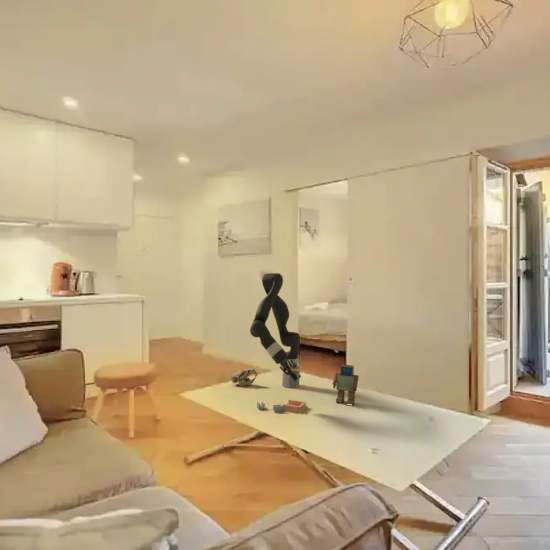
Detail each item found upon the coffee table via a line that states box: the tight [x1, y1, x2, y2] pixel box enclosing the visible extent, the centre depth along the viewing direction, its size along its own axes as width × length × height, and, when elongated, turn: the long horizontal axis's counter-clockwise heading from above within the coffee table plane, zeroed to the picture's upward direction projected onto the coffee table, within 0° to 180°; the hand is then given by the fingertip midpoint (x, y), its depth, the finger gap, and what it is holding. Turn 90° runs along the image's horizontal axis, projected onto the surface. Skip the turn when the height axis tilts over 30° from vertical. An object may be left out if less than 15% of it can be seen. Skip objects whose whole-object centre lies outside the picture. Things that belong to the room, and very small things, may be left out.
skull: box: [230, 368, 258, 387], centre depth 260 cm, size 10×16×10 cm, turn 88°
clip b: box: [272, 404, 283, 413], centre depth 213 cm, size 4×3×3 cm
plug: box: [288, 363, 301, 388], centre depth 218 cm, size 4×4×12 cm
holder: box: [281, 399, 308, 414], centre depth 218 cm, size 11×11×3 cm
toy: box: [332, 364, 359, 404], centre depth 230 cm, size 13×10×20 cm
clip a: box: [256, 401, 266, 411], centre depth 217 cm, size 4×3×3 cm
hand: (298, 378), depth 217 cm, fingers closed on plug, 4 cm apart
